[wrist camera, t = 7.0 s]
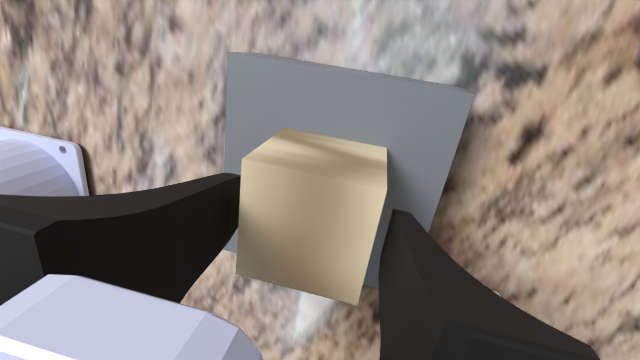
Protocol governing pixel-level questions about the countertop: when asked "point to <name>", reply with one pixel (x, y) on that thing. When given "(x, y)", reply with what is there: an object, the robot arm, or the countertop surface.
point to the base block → (350, 125)
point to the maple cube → (310, 212)
